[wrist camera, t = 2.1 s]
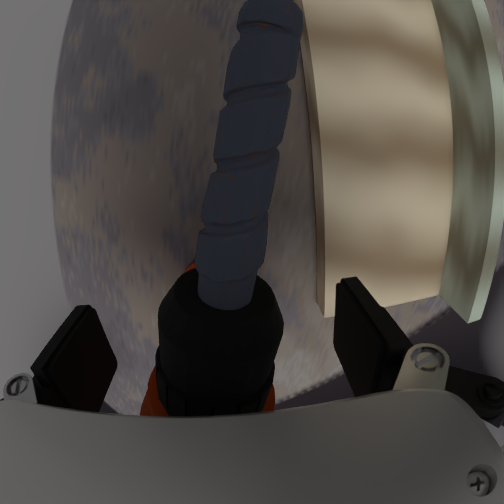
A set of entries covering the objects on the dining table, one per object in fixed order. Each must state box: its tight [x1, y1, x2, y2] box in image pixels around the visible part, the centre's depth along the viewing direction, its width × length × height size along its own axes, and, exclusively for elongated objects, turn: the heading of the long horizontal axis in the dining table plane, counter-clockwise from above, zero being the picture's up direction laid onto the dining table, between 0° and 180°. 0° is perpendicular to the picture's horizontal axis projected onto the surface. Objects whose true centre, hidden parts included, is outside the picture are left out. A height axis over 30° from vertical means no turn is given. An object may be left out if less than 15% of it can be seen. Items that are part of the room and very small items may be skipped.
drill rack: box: [293, 0, 504, 323], centre depth 14 cm, size 22×11×6 cm, turn 6°
